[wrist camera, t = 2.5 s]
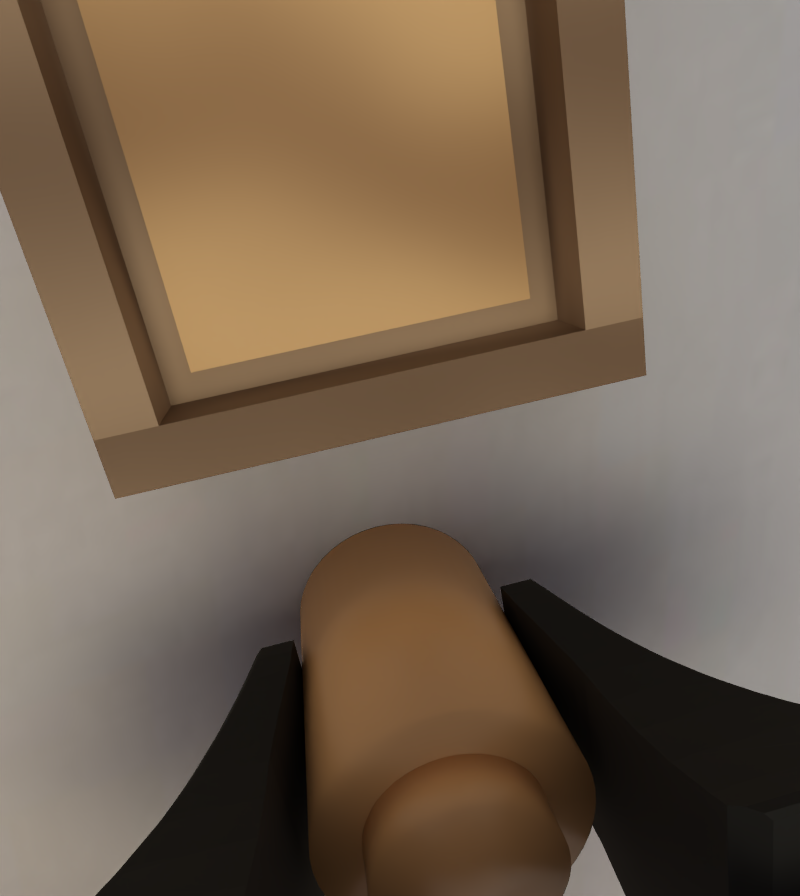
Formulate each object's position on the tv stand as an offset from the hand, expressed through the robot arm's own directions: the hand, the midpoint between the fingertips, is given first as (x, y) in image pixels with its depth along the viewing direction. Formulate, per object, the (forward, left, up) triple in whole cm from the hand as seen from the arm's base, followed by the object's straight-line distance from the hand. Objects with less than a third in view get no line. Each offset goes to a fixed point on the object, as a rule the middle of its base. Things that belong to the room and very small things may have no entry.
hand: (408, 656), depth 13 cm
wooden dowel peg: (0, 0, -2) cm, 2 cm away
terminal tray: (+9, 0, -2) cm, 9 cm away
